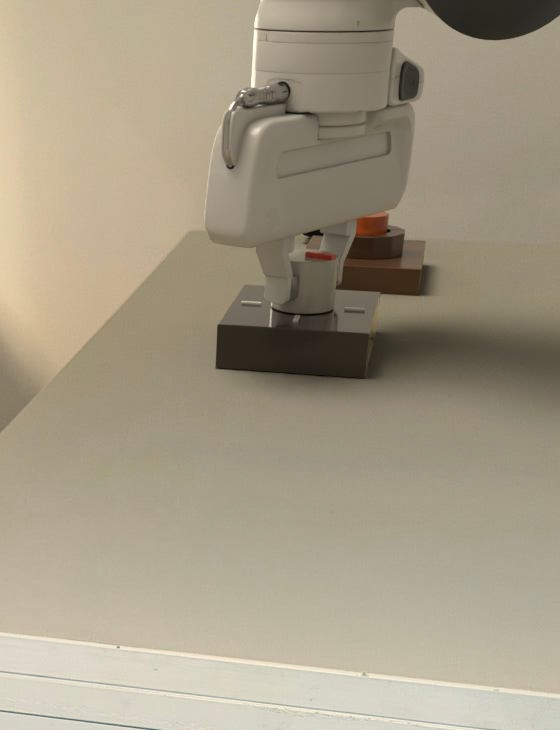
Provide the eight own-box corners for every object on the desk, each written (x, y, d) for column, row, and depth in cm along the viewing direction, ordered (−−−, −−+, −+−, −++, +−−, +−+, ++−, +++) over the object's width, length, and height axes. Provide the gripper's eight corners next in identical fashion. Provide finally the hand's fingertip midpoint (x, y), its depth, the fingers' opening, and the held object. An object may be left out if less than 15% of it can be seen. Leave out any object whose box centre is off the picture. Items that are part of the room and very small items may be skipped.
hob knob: (258, 307, 91) (261, 251, 89) (292, 296, 94) (296, 241, 92) (313, 317, 88) (317, 260, 87) (346, 305, 91) (351, 249, 90)
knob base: (242, 324, 99) (244, 282, 97) (376, 332, 97) (380, 289, 95) (215, 368, 89) (217, 321, 87) (364, 378, 86) (369, 331, 85)
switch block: (310, 260, 119) (313, 214, 117) (422, 265, 117) (428, 219, 115) (294, 289, 109) (298, 240, 107) (417, 296, 107) (423, 246, 105)
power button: (345, 229, 113) (347, 208, 112) (388, 231, 112) (390, 210, 111) (342, 237, 110) (343, 215, 109) (385, 239, 109) (387, 217, 108)
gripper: (272, 93, 76) (257, 330, 82) (437, 70, 89) (414, 275, 96) (184, 87, 79) (177, 315, 86) (356, 66, 93) (339, 263, 99)
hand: (303, 293), depth 91 cm, fingers closed on hob knob, 4 cm apart
